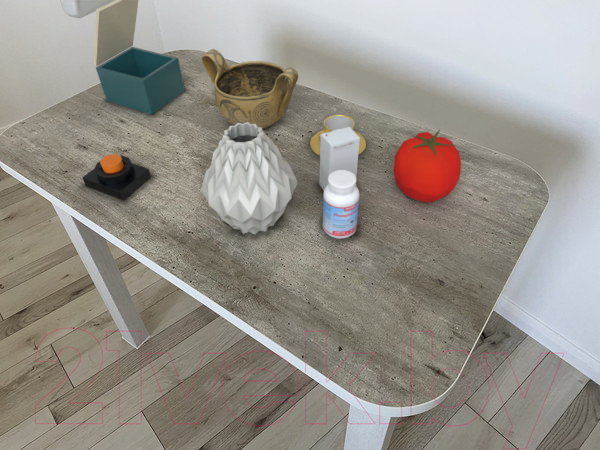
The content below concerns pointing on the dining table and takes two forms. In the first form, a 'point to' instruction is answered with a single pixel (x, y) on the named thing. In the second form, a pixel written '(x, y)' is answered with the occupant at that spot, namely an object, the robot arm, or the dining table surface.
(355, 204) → the pill bottle
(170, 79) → the teal hollow open box
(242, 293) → the dining table surface
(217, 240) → the dining table surface
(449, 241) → the dining table surface
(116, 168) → the flush button
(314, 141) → the cup
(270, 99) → the ceramic bowl
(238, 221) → the vase
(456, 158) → the tomato
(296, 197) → the dining table surface
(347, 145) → the cosmetic box
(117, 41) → the beige flat rectangular panel
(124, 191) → the push button housing
